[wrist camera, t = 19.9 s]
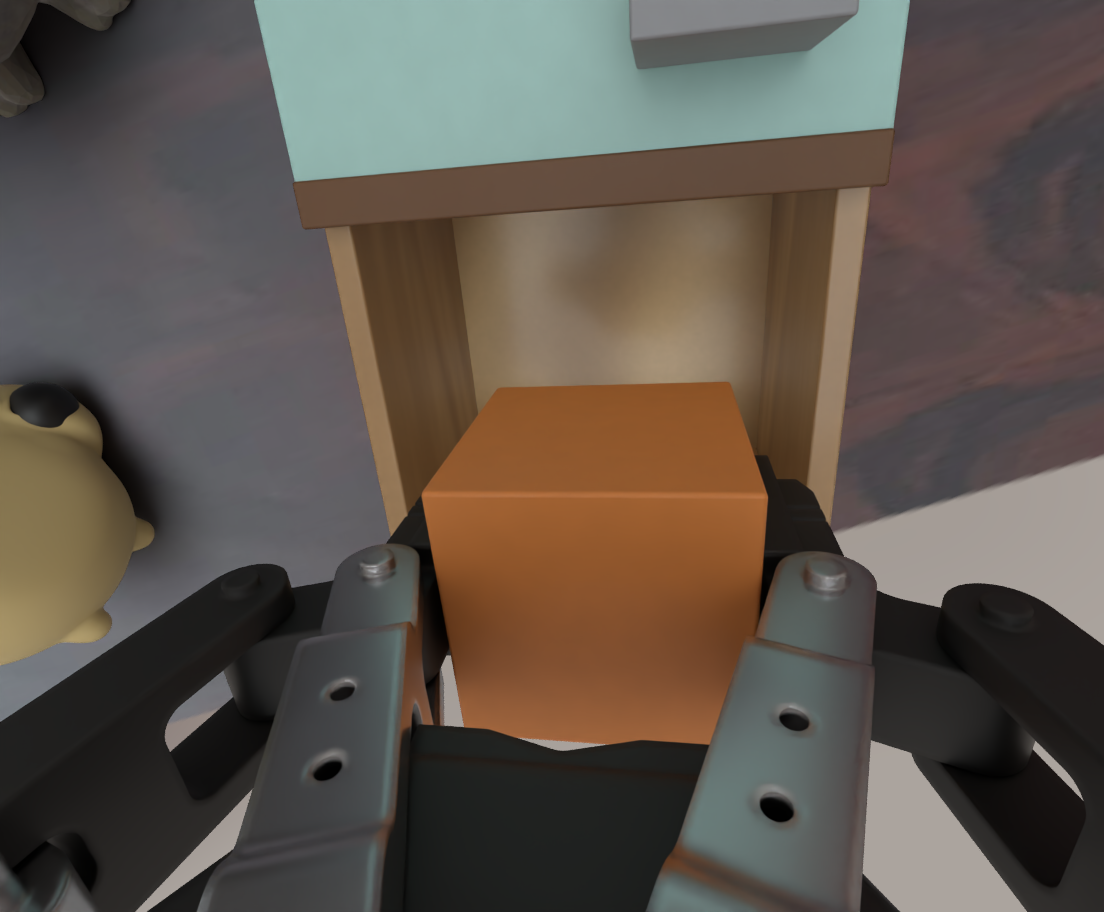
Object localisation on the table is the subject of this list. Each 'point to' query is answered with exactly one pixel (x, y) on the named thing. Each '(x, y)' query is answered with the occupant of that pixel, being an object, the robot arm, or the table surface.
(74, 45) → the table surface
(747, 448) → the block
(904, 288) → the table surface
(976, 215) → the table surface
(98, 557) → the toy pig
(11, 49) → the figurine
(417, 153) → the mint sliding box lid
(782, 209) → the maple box
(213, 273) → the table surface
